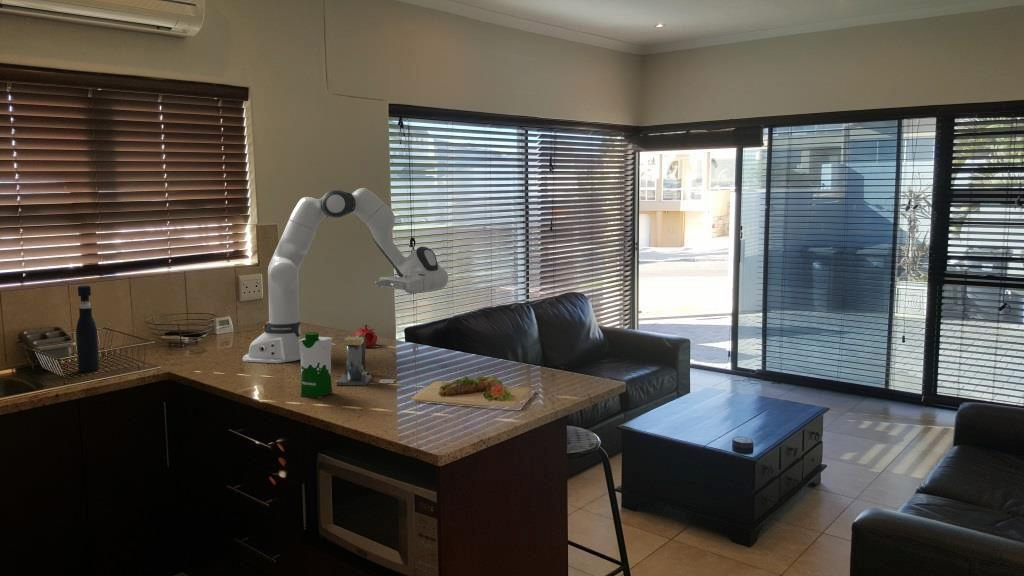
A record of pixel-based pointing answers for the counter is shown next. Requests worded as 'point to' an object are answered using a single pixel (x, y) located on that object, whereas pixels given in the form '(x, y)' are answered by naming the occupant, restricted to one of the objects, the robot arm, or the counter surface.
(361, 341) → the lever
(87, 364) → the dark blue bottle
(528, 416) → the counter surface
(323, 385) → the milk carton
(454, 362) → the counter surface
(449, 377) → the counter surface
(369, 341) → the pomegranate
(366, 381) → the post
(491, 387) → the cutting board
